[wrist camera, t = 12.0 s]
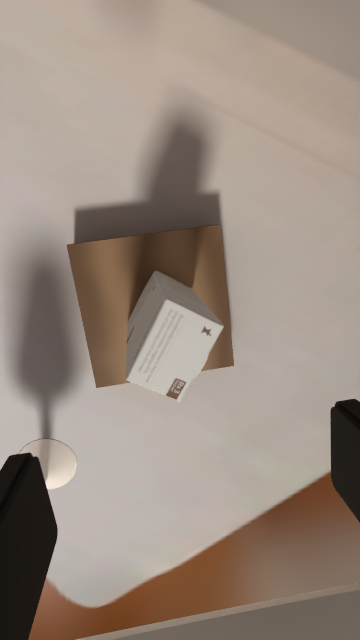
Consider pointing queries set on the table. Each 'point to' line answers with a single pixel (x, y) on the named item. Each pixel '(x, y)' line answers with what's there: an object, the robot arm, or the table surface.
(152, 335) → the skincare box
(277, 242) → the table surface
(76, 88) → the table surface
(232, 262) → the table surface
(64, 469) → the champagne flute
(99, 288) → the walnut base
